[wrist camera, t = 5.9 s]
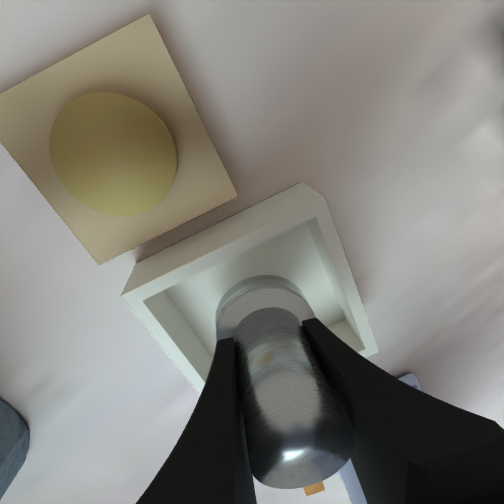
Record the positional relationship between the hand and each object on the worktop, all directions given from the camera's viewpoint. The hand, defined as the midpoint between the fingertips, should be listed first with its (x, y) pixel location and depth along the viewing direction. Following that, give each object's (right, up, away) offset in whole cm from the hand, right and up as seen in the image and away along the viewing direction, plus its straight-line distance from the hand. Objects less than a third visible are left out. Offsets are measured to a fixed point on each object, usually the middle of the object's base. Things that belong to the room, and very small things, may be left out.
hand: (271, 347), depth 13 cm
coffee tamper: (0, +1, +2) cm, 2 cm away
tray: (-1, +2, +4) cm, 4 cm away
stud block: (-6, +8, 0) cm, 10 cm away
